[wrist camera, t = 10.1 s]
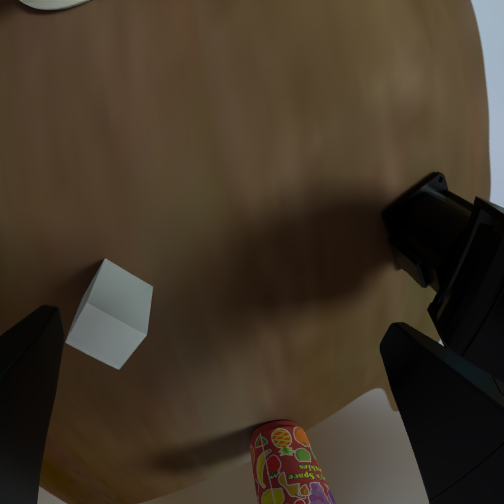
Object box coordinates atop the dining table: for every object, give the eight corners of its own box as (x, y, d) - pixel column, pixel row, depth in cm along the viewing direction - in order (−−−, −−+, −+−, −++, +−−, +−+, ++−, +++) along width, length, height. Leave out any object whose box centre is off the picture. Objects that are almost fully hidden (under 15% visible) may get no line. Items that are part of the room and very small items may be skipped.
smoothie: (320, 420, 35) (373, 556, 17) (274, 449, 37) (311, 575, 20) (274, 406, 31) (326, 574, 14) (227, 438, 33) (257, 587, 16)
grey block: (105, 257, 20) (86, 302, 15) (153, 286, 21) (147, 334, 17) (83, 296, 21) (65, 342, 16) (127, 321, 23) (119, 369, 18)
